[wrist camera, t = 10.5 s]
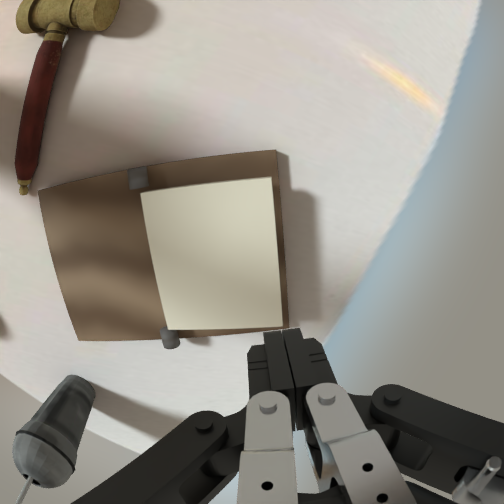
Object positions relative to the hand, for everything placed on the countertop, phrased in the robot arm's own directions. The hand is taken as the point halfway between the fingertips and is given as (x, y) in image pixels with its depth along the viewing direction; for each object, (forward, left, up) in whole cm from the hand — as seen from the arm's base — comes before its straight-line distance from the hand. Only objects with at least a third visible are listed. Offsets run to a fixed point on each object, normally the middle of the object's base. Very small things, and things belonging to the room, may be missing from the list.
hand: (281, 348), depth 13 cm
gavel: (-18, -19, -16) cm, 30 cm away
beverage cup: (+16, -24, -16) cm, 33 cm away
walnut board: (0, -9, -15) cm, 18 cm away
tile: (0, -4, -12) cm, 13 cm away
